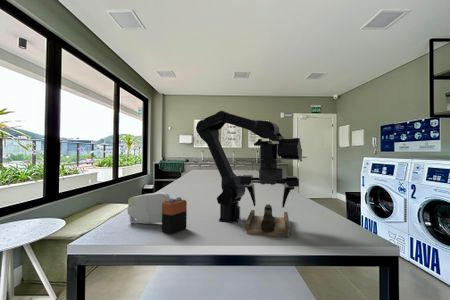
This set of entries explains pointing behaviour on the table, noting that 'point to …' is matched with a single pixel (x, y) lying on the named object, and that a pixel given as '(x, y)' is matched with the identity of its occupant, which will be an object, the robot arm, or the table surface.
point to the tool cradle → (279, 230)
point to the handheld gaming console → (146, 208)
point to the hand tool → (268, 220)
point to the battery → (174, 215)
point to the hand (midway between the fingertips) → (268, 206)
